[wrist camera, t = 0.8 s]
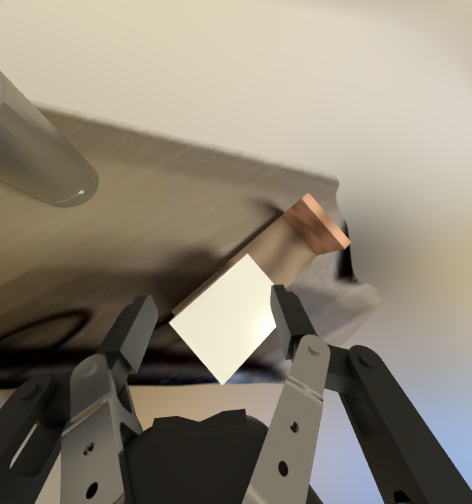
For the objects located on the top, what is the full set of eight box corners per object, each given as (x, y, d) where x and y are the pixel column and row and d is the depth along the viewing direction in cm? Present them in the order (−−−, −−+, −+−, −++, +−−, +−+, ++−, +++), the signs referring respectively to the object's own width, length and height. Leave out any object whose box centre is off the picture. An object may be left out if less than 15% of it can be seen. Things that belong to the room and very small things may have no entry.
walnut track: (172, 309, 28) (161, 320, 20) (285, 212, 35) (308, 192, 27) (214, 357, 28) (218, 387, 20) (318, 250, 35) (351, 242, 27)
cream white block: (179, 310, 27) (168, 322, 19) (235, 261, 30) (247, 253, 22) (216, 353, 27) (222, 385, 19) (268, 300, 30) (293, 307, 22)
